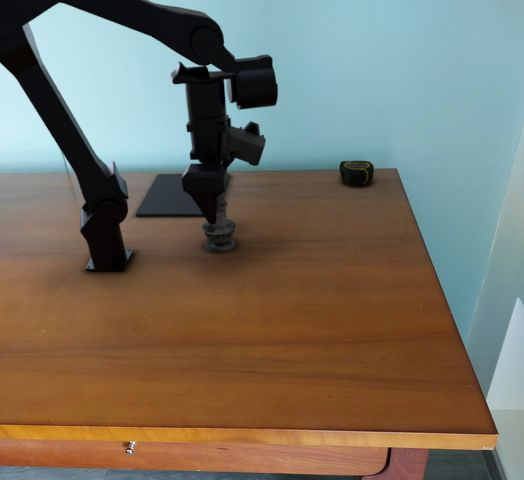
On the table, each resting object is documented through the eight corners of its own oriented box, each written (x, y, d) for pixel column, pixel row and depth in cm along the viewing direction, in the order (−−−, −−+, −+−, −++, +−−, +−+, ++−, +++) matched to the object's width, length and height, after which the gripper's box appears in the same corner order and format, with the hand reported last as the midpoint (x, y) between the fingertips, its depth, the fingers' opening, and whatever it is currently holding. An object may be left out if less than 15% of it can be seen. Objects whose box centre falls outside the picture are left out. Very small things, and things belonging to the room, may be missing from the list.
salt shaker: (239, 236, 94) (234, 170, 86) (234, 253, 90) (229, 185, 82) (206, 236, 95) (199, 170, 87) (200, 252, 90) (192, 185, 82)
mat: (217, 216, 101) (217, 213, 100) (135, 216, 102) (135, 213, 101) (229, 175, 116) (229, 173, 116) (158, 176, 117) (158, 173, 117)
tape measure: (370, 175, 113) (372, 157, 111) (374, 188, 108) (376, 170, 106) (338, 175, 114) (339, 158, 111) (341, 188, 109) (342, 170, 106)
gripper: (256, 132, 70) (260, 238, 80) (265, 94, 85) (268, 188, 95) (174, 133, 71) (188, 237, 81) (197, 96, 85) (206, 188, 95)
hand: (216, 211), depth 88 cm, fingers open, 9 cm apart
